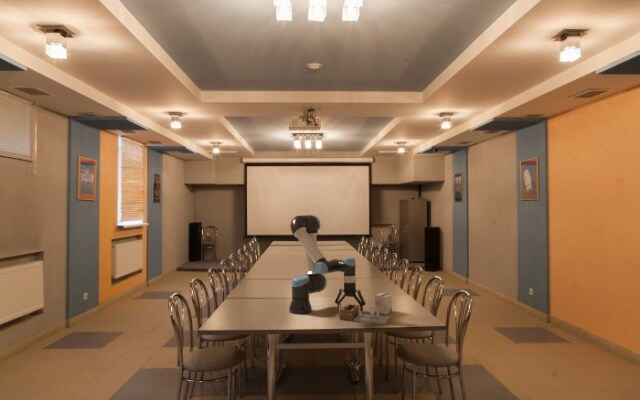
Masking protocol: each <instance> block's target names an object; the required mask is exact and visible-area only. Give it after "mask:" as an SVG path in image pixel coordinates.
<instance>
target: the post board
mask: <svg viewBox="0 0 640 400" xmlns="http://www.w3.org/2000/svg"><path fill="white" fill-rule="evenodd" d="M375 313H376V314H375ZM390 320H391V316H390V315H389V316H387V315H381V314H380V313H379V312H375V307H370V308H369V313H362V312H361V316H360V317H359V315H358V316H356V317H355V318H354V319H353V321H354V322H362V323H369V324H376V325H377V324H379V325H386V324H387V323H388V322H389V321H390Z"/></svg>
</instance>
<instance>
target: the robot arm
mask: <svg viewBox="0 0 640 400" xmlns="http://www.w3.org/2000/svg"><path fill="white" fill-rule="evenodd" d="M289 226H290V231H291V233H292V235H293V236H294V237H295V238H297V239H298V241H299V243H300V244H301V245H302V246H303V248H304V250H305V258H306V259H305V260H306V267H307V271H306V273H305V274H301V275H300V274H299V275H296V276H294V277H293V278H292V279H291V301H290V304H289V309H288V310H289V311H288V312H289V313H291V314H295V315H305V314H310V313H312V311H313V309H312V308H313V307H312V305H311V301H310V295H311V294H315V293H320V292H323V291H324V290H325V289H326V288H327V283H328V281H327V278H326V276H325V275H326V274H329V273H330V274H331V273H337V272H341V273H343V288H339V290H338V294H337V296H336V299H335V300H334V304H337V310H338V311H339V310H340V309H342V302H343V300H344V299H345V298H346V297H347V298H349V297H350V298H354V299H355V301H356V302H357V304H358V305H359V317H360V316H361V313H362V312H363V311H364V306H365V305H366V304H367V303H366V301H365V299H364V296H363V295H362V291H361V289H359V290H358V289H357V288H356V287H357V286H356V284H357V283H356V280H357V278H356V277H357V275H356V259H355V258H354V257H344V258H343V259H337V258H334V259H331V260H328V259H327V258H326V257H325V256H324V254H323V253H322V252H321V250H320V249H319V247H318V241H317V236H318V234H319V230H320V228H321V221H320V219H319V218H318V216H317V215H313V214H312V215H311V214H305V215H304V214H303V215H296V216H294V217H293V218H292V220H290V225H289ZM356 289H357V290H356ZM342 293H344V294H343V295H342ZM341 296H342V297H341Z"/></svg>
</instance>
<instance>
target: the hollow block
mask: <svg viewBox="0 0 640 400" xmlns="http://www.w3.org/2000/svg"><path fill="white" fill-rule="evenodd" d="M359 306H360V305H359V304H349V303H348V304H347V303H346V305H344V306H343V307H341V309H340V310H339V309H338V315H339V320H340V321H348V322H349V321H350V322H352V321H354V318H355V317H356V316H358V315H359Z"/></svg>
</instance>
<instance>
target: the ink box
mask: <svg viewBox="0 0 640 400" xmlns="http://www.w3.org/2000/svg"><path fill="white" fill-rule="evenodd" d="M388 293H389V291H387V292H384V293H382V292H380V293H378V294H375V295H374V308H375V313H376V312H379V314H380V315H388V314H390V313H392V311H393V295H392V294H388Z"/></svg>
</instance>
